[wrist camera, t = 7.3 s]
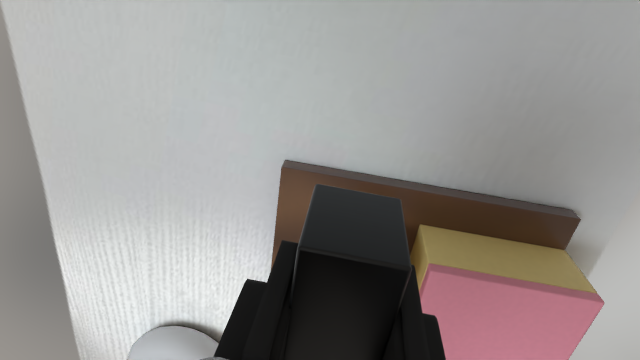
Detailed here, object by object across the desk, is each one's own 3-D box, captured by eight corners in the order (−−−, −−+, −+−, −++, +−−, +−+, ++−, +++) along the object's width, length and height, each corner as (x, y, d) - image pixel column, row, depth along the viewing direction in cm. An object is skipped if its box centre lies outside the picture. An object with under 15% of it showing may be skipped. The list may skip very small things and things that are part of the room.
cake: (419, 224, 26) (430, 271, 22) (565, 249, 26) (605, 303, 22) (390, 317, 31) (394, 372, 26) (516, 340, 30) (542, 401, 26)
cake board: (284, 159, 27) (281, 166, 26) (572, 209, 26) (581, 219, 25) (269, 305, 33) (266, 316, 32) (500, 349, 32) (504, 361, 31)
